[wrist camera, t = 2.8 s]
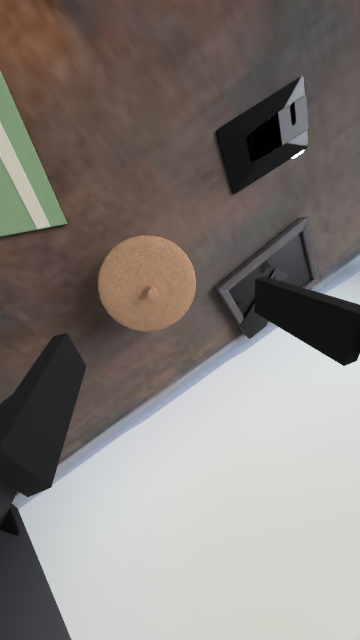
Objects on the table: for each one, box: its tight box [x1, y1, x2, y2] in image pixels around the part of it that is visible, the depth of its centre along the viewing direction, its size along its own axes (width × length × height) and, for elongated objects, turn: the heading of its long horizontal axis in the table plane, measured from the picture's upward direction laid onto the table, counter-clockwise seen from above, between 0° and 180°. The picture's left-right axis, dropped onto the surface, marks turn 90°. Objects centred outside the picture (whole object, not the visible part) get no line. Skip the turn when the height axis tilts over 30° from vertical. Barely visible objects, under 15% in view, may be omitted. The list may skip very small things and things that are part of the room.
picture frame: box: [215, 217, 321, 339], centre depth 32 cm, size 13×2×18 cm
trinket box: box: [98, 235, 196, 331], centre depth 22 cm, size 11×11×9 cm
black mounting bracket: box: [216, 76, 308, 194], centre depth 21 cm, size 12×7×5 cm, turn 119°
